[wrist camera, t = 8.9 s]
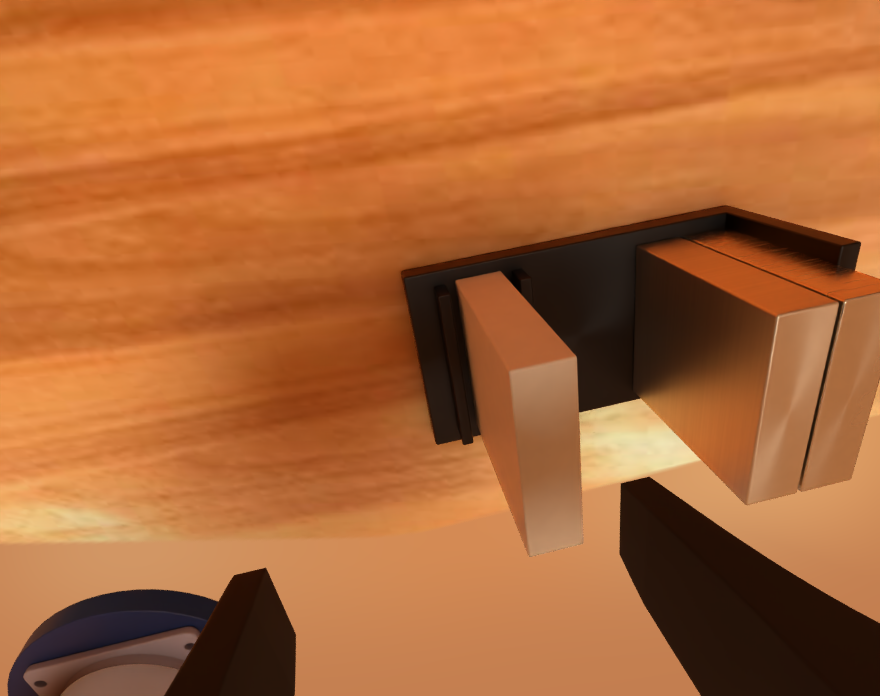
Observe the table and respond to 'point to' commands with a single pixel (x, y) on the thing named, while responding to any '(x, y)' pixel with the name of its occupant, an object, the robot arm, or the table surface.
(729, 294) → the black rack
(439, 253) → the table surface
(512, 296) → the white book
